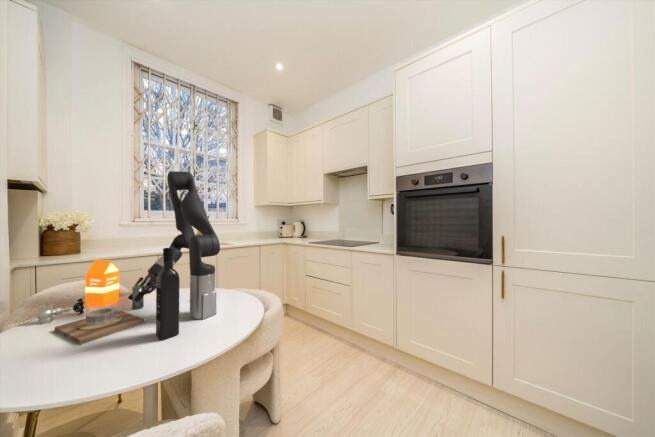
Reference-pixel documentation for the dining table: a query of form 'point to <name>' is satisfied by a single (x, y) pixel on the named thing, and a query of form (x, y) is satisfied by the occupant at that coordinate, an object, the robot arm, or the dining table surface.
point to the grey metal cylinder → (134, 293)
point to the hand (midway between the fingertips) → (132, 300)
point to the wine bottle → (167, 298)
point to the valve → (56, 311)
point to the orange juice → (102, 283)
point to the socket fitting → (98, 325)
